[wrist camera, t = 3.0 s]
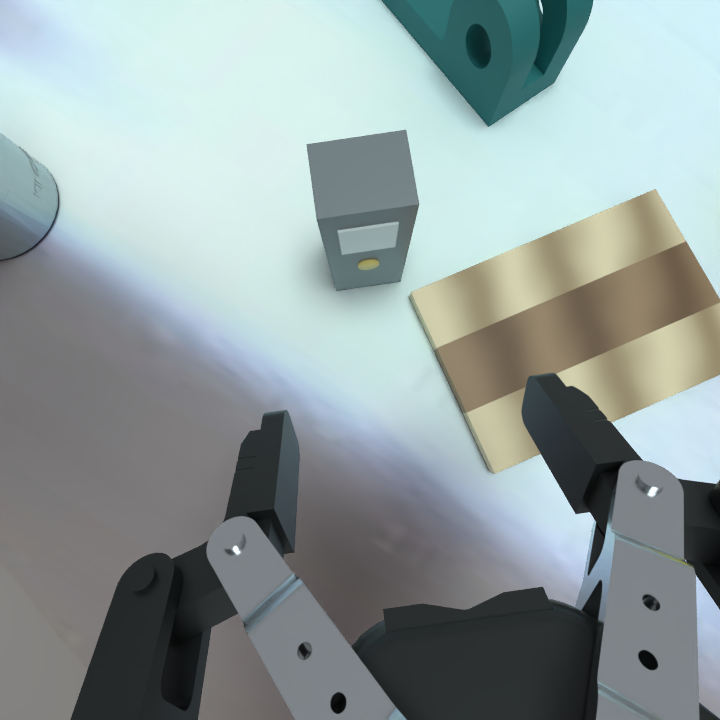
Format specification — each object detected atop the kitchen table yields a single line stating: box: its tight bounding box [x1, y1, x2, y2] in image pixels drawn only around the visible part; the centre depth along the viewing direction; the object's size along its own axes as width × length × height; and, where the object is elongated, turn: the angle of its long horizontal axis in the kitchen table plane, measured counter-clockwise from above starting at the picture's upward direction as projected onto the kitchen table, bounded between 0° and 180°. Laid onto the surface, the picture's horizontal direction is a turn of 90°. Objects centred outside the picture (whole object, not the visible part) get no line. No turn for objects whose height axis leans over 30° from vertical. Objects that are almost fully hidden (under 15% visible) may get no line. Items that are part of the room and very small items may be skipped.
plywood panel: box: [409, 189, 720, 474], centre depth 28 cm, size 20×14×1 cm
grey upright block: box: [307, 130, 419, 291], centre depth 24 cm, size 5×4×11 cm
